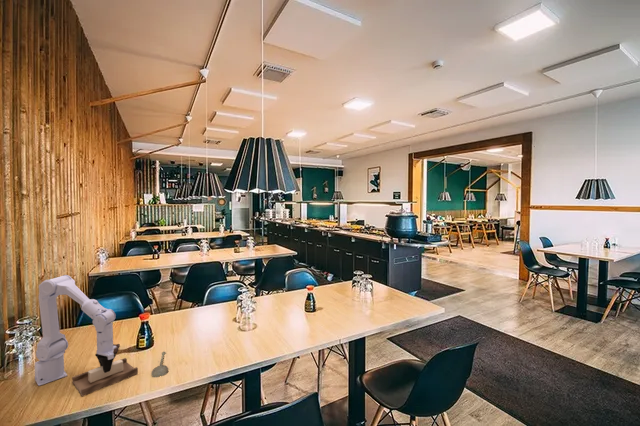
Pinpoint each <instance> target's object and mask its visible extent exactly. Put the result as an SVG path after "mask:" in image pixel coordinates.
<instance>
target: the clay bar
mask: <svg viewBox="0 0 640 426" xmlns="http://www.w3.org/2000/svg"><path fill="white" fill-rule="evenodd" d="M120 371H123V361H122V360H121V359H118V360H114V361H113V362H112V366H111V370H110V371H109V372H106V373H104V371H103V366H101V367H100V366H98V367H95V368H92V369H90V370H87V372H88V380H89V382H90V383H92V382H94V381H97V380H99V379H102V378H105V377H107V376H110V375H112V374H115V373H118V372H120Z"/></svg>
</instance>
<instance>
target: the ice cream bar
mask: <svg viewBox="0 0 640 426" xmlns="http://www.w3.org/2000/svg"><path fill="white" fill-rule="evenodd" d="M113 346H116V348H115V349H114V351H113V353H114V354H115V355H117V354H118V352H119V349H120V347H121V346H120V343H115V344H114V343H113Z"/></svg>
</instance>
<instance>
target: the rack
mask: <svg viewBox="0 0 640 426" xmlns="http://www.w3.org/2000/svg"><path fill="white" fill-rule="evenodd" d="M121 360H122V361H123V371H120V372H118V373H115V374H112V375H110V376H107V377H105V378H102V379H99V380H97V381H94V382H92V383H90V382H89V380H88V371H85V372H83V373H80V374H77V375H75V376H72V379H71V380H72V381H71V382H72V385H73V386H74V388H75V389H76V390H77V391H78V393H79V394H80V396H81V397H84V396H88V395H89V394H92V393H94V392H97V391H99V390H101V389H104V388H106V387H109V386H111V385H114V384H117V383H119V382H122V381H123V380H126V379H128V378H131V377H134V376H136V375H138V374H139V368H138V366H136V367H133V366H132V365H131V364H130V363H129V362H128V358H126V357H125V358H122V359H121Z"/></svg>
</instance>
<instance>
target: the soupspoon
mask: <svg viewBox="0 0 640 426" xmlns="http://www.w3.org/2000/svg"><path fill="white" fill-rule="evenodd" d="M166 353H167V352H166V351H162V352H161V358H160V362H159V365H158V366H156V367H154V368H153V369H152V370H151V377H152V378H160V376H161V377H164V376H166V375H167V374H168V372H169V367H168V366H167V365H164V364H163V360H164V356H165V355H166Z"/></svg>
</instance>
